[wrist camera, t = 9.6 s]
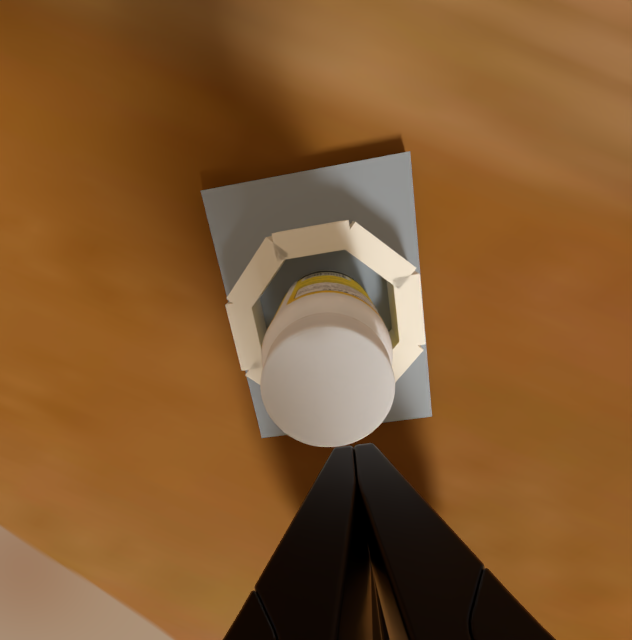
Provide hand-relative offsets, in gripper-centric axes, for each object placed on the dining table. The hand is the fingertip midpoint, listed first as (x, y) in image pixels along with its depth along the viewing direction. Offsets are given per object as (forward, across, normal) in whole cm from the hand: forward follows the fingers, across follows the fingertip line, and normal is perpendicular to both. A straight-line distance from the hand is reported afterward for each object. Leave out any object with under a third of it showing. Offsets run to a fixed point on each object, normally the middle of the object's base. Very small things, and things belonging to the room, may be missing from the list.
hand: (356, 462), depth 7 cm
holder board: (+12, +1, 0) cm, 12 cm away
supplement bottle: (+11, +1, 0) cm, 11 cm away
